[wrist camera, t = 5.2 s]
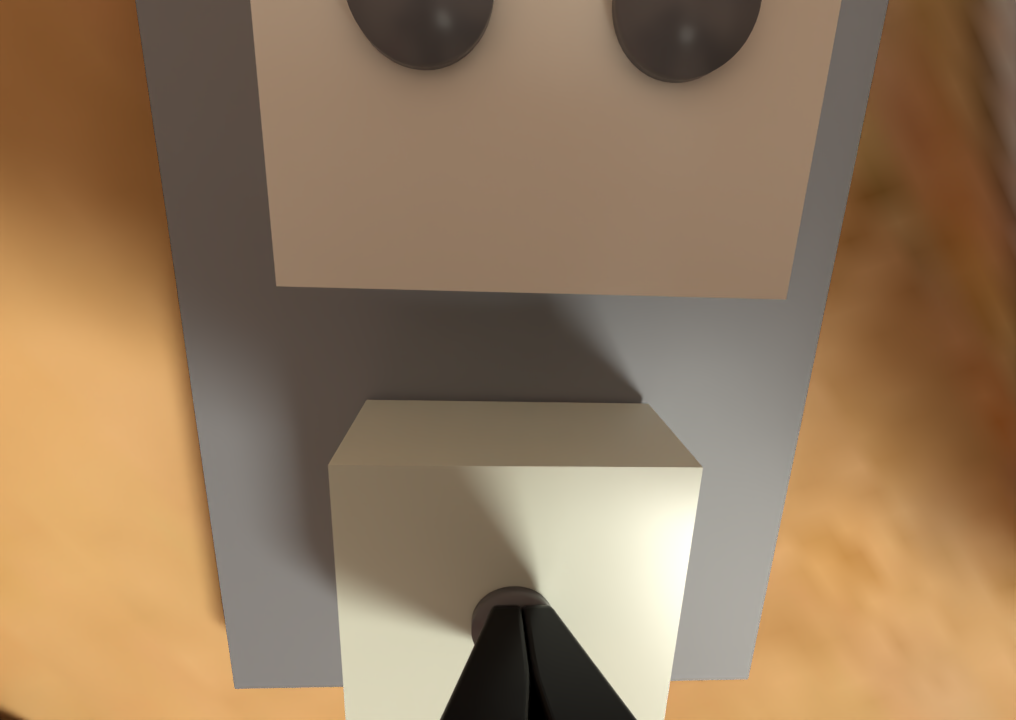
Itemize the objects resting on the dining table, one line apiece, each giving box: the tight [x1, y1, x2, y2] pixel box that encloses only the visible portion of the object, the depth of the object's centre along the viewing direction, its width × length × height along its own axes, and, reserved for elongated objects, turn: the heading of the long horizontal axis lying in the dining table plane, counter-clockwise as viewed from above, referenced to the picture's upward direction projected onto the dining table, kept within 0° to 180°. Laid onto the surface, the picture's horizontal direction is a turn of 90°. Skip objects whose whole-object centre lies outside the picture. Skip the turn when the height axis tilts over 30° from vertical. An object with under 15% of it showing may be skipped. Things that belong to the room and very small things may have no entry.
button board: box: [135, 0, 889, 689], centre depth 8 cm, size 11×23×1 cm, turn 178°
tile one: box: [328, 400, 703, 720], centre depth 9 cm, size 5×5×3 cm
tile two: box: [250, 0, 842, 300], centre depth 5 cm, size 5×5×3 cm
